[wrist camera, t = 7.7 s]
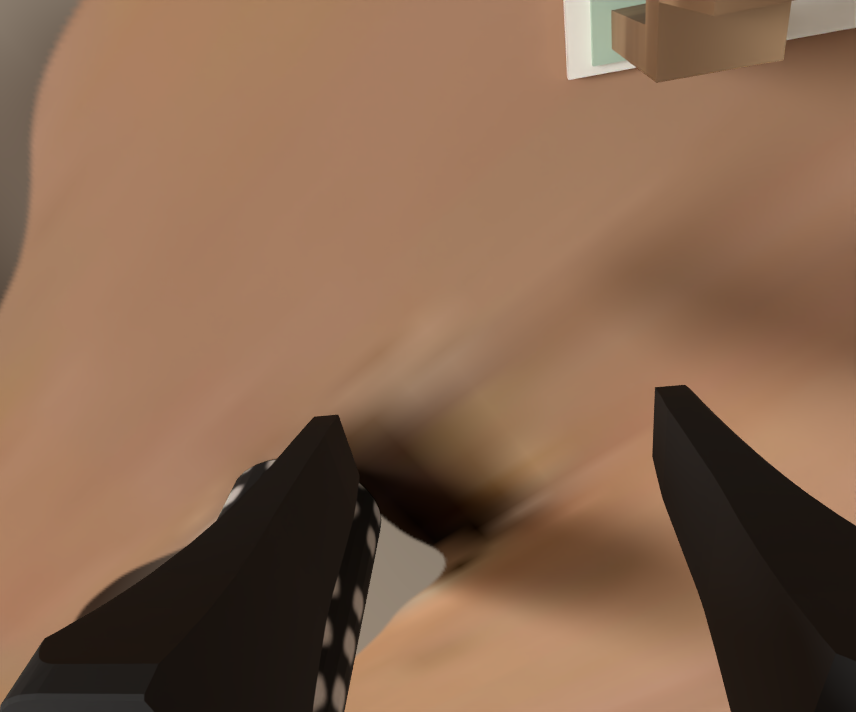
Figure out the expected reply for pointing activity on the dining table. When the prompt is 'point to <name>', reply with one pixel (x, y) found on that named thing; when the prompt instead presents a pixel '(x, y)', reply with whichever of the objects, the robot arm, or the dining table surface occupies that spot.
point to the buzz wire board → (809, 15)
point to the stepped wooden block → (700, 35)
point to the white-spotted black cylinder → (337, 594)
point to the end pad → (605, 29)
